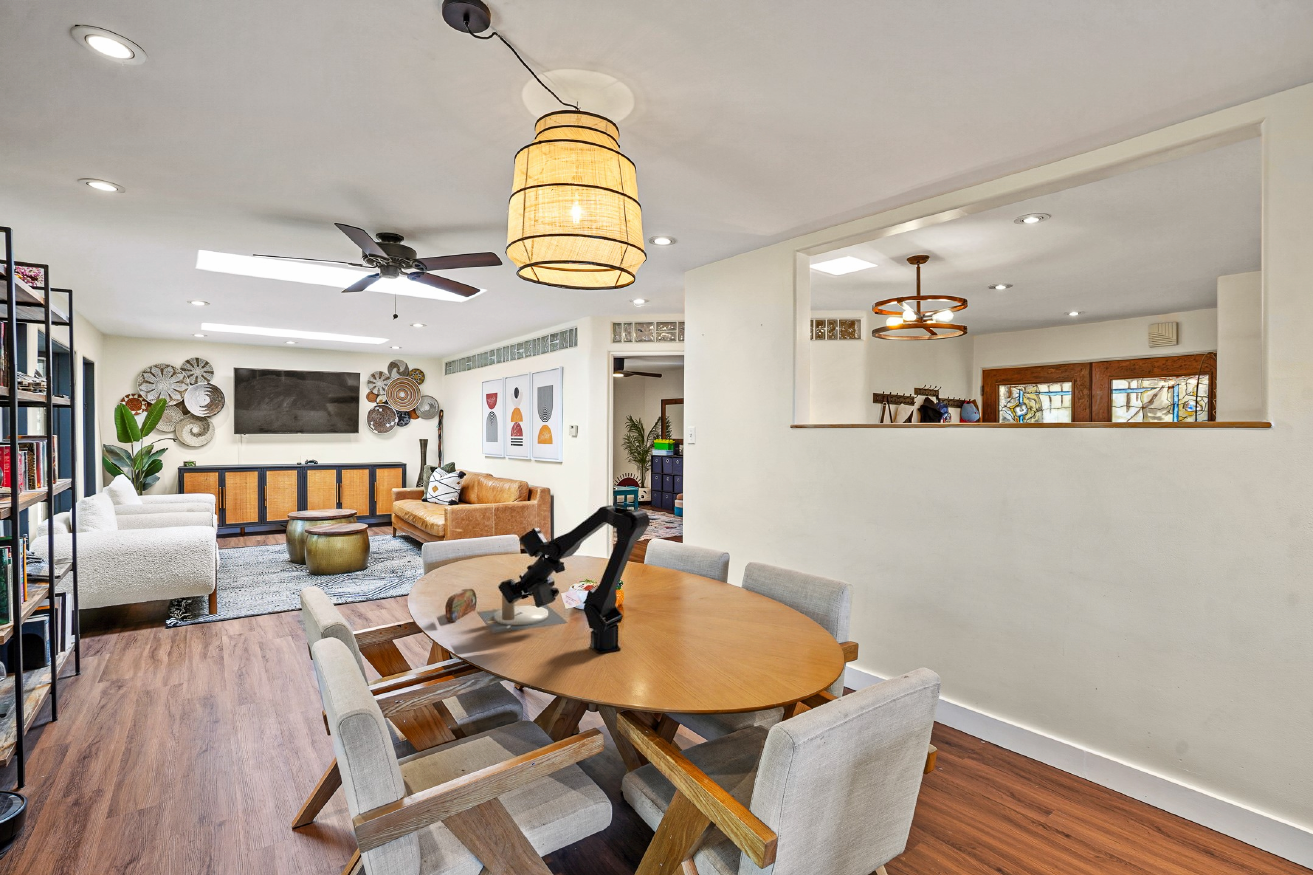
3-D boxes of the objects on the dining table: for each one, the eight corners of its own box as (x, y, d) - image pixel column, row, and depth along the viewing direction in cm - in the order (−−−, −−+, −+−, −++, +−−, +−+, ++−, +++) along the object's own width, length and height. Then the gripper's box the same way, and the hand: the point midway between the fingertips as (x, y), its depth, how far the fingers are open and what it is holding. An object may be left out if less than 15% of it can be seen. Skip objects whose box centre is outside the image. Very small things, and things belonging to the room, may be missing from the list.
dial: (548, 608, 201) (548, 573, 201) (548, 623, 185) (548, 585, 185) (496, 610, 198) (496, 574, 198) (492, 626, 182) (492, 587, 182)
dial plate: (545, 606, 207) (545, 602, 206) (568, 626, 187) (568, 622, 187) (477, 615, 197) (477, 611, 196) (492, 636, 177) (492, 632, 177)
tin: (452, 627, 185) (453, 598, 185) (443, 626, 186) (443, 597, 185) (477, 612, 200) (477, 585, 199) (468, 611, 200) (468, 585, 200)
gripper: (535, 600, 168) (504, 634, 174) (577, 584, 184) (547, 616, 190) (513, 567, 172) (483, 601, 178) (556, 554, 188) (527, 586, 194)
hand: (511, 602), depth 185 cm, fingers closed, pressing on dial
